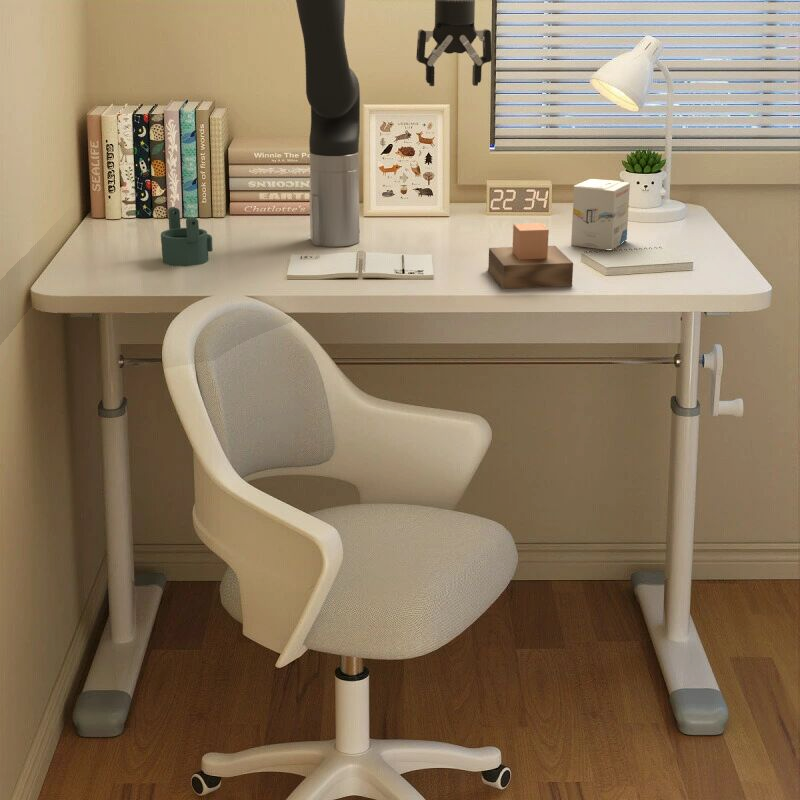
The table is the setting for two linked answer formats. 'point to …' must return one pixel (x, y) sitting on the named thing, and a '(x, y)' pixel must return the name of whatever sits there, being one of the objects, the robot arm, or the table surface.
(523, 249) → the terracotta cube
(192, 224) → the bracket
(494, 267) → the walnut base
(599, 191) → the ink box
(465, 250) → the table surface
